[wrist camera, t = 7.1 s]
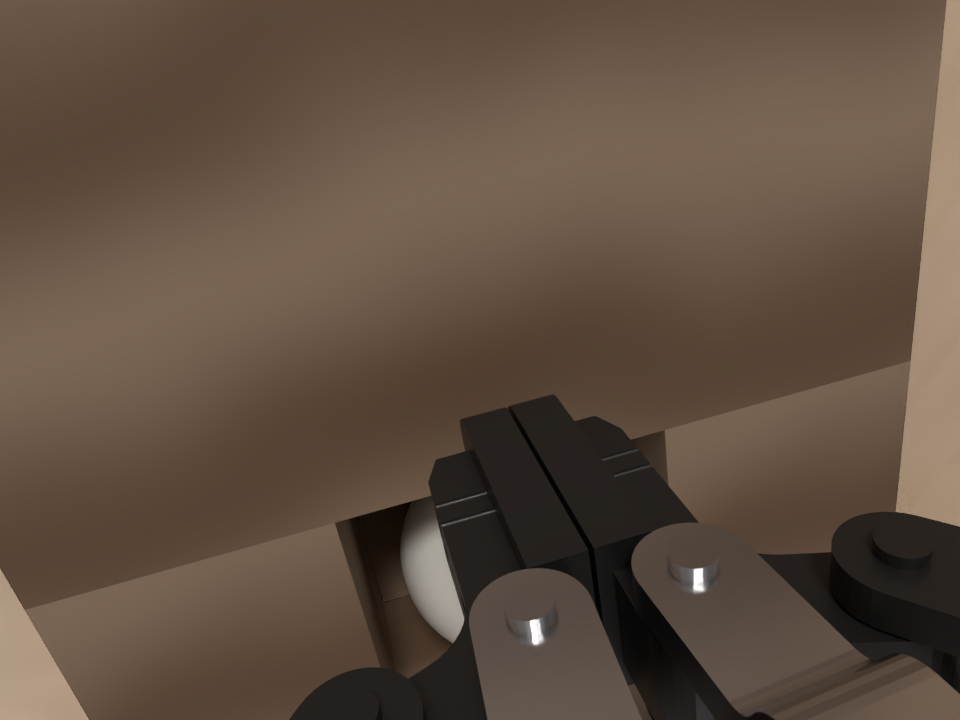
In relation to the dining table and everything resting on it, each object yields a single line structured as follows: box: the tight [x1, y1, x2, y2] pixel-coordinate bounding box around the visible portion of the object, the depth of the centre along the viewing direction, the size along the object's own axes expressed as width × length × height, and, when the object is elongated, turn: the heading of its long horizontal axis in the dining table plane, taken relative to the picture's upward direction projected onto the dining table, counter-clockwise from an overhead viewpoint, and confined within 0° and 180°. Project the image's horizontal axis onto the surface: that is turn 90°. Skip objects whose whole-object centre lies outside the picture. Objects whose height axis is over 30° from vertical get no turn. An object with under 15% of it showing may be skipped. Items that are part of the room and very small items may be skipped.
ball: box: [400, 496, 464, 643], centre depth 17 cm, size 4×4×4 cm
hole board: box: [0, 0, 946, 720], centre depth 14 cm, size 26×16×4 cm, turn 10°
